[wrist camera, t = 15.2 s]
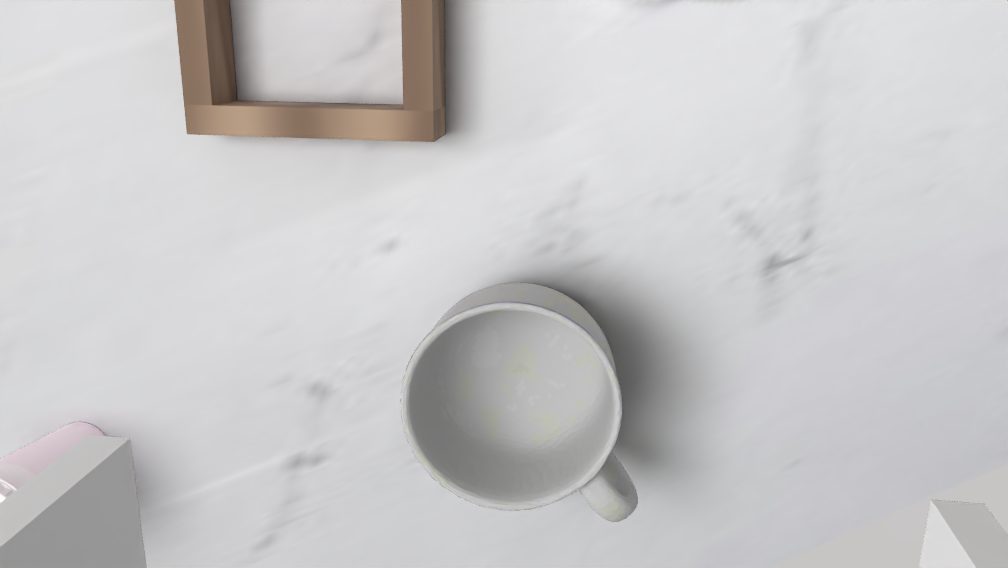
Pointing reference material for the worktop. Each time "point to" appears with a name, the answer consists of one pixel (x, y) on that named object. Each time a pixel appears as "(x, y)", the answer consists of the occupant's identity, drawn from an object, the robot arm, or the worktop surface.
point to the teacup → (518, 403)
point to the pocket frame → (221, 114)
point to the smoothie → (40, 455)
